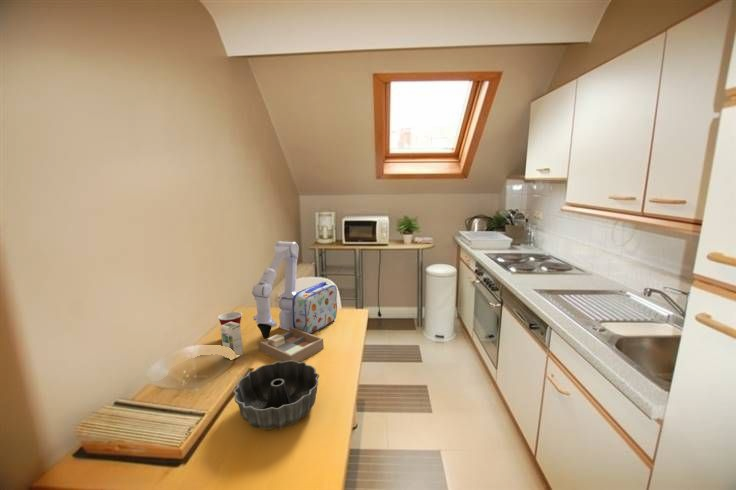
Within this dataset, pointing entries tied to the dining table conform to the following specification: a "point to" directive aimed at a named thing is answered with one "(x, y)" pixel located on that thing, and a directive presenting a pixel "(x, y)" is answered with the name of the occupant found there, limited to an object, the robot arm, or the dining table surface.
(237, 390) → the bundt pan
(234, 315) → the plastic cup
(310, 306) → the lunch box
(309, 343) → the divided box
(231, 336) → the syrup box
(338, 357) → the dining table surface
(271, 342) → the ash block
